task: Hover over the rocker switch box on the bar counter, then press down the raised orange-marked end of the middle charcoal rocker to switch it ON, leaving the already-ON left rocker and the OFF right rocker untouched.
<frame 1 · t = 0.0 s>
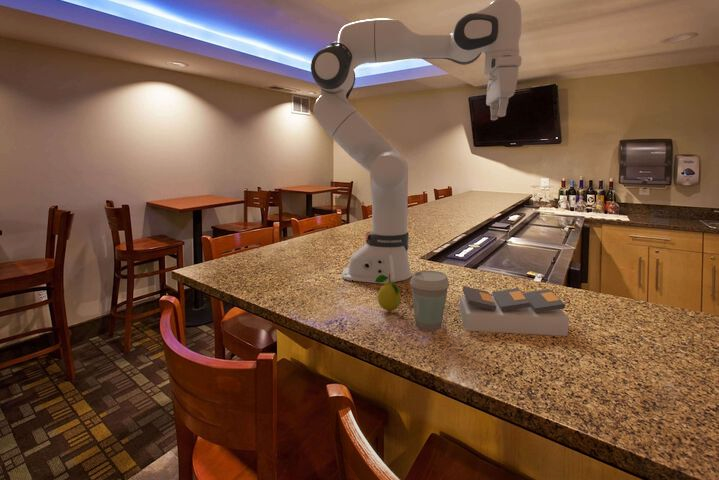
hand: (497, 118, 105), 48 cm above the countertop, fingers open, 8 cm apart
lemon: (388, 312, 91), on the countertop
coffee cup: (428, 326, 83), on the countertop
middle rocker: (510, 298, 84), point 6 cm above the countertop, hinge at -12.0°
rocker switch box: (508, 322, 85), on the countertop
left rocker: (478, 297, 85), point 6 cm above the countertop, hinge at 12.0°
right rocker: (542, 299, 83), point 6 cm above the countertop, hinge at -12.0°
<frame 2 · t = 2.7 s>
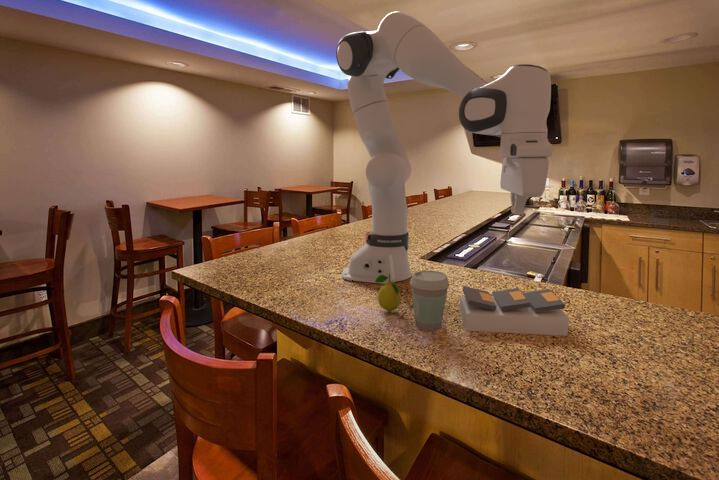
hand: (517, 214, 80), 25 cm above the countertop, fingers closed
nothing on the countertop moved.
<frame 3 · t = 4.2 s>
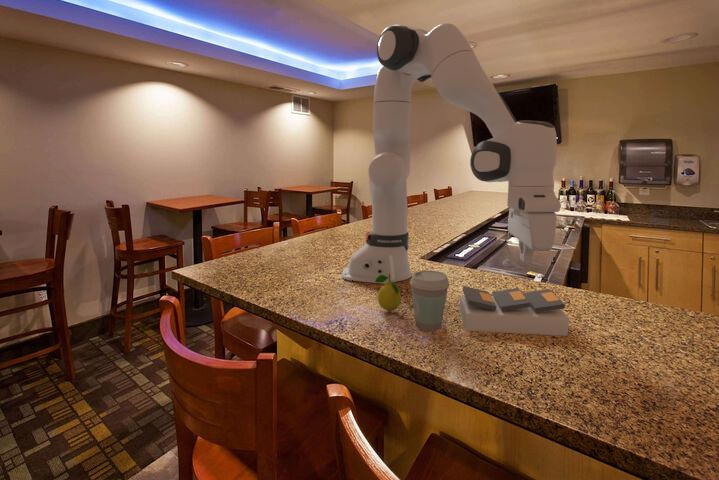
hand: (525, 261, 81), 15 cm above the countertop, fingers closed
nothing on the countertop moved.
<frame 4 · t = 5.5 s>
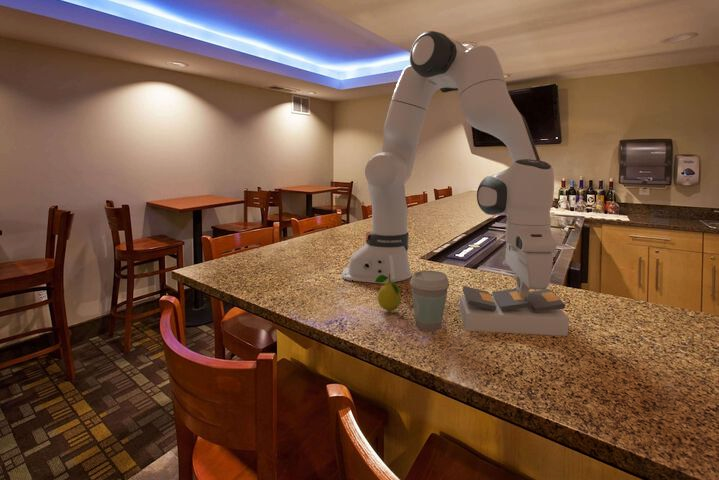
hand: (522, 294, 83), 7 cm above the countertop, fingers closed, pressing on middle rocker
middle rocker: (510, 298, 84), point 6 cm above the countertop, hinge at -11.9°, touching gripper
everything else where it was.
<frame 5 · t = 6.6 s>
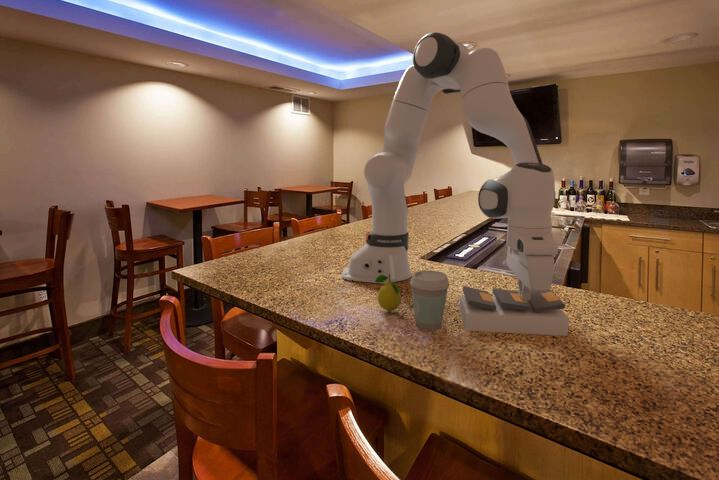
hand: (524, 297, 83), 6 cm above the countertop, fingers closed
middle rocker: (510, 298, 84), point 6 cm above the countertop, hinge at 7.0°, touching gripper
everything else where it was.
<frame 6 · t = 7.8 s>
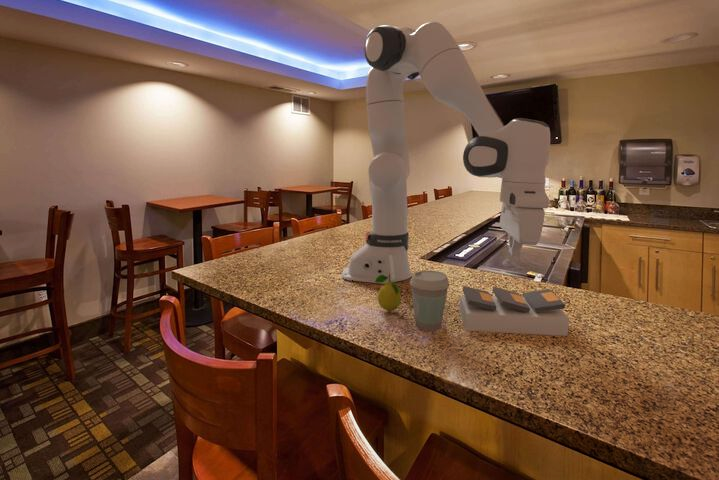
hand: (513, 254, 85), 15 cm above the countertop, fingers closed
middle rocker: (510, 298, 84), point 6 cm above the countertop, hinge at 14.2°
everything else where it was.
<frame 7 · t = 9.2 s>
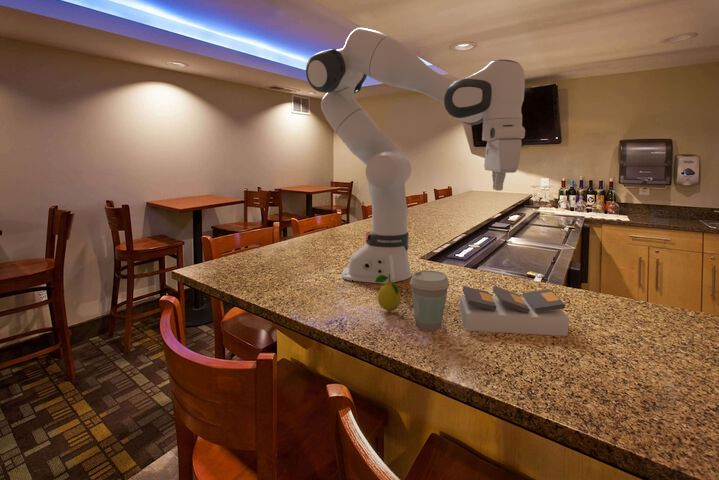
hand: (497, 190, 92), 29 cm above the countertop, fingers closed
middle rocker: (510, 298, 84), point 6 cm above the countertop, hinge at 19.3°
everything else where it was.
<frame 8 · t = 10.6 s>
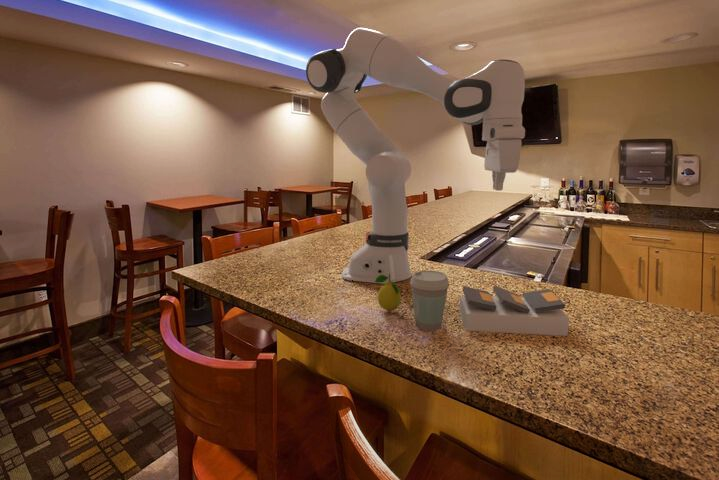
hand: (497, 190, 92), 29 cm above the countertop, fingers closed
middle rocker: (510, 298, 84), point 6 cm above the countertop, hinge at 21.1°, touching rocker switch box
everything else where it was.
at the end: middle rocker at +21° (first picture: -12°); left rocker at +12° (first picture: +12°); right rocker at -12° (first picture: -12°) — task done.
